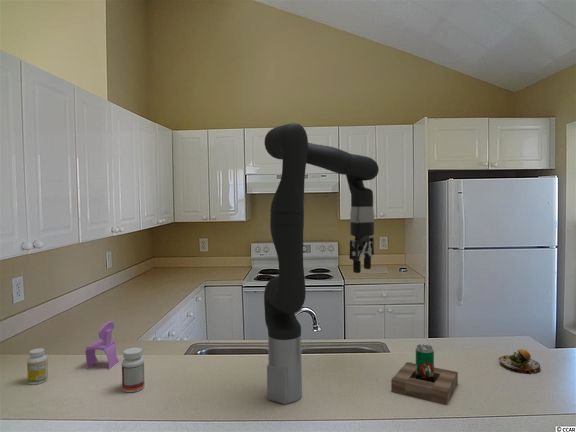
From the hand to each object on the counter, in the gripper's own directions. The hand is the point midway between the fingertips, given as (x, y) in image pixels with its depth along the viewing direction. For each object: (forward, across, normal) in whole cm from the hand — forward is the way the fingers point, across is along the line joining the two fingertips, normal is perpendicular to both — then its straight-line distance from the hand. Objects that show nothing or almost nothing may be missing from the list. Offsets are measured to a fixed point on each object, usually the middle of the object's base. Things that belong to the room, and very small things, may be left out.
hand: (362, 270), depth 134 cm
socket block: (+32, +4, +21) cm, 38 cm away
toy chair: (+32, +44, -75) cm, 93 cm away
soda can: (+32, +4, +21) cm, 38 cm away
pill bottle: (+32, +49, -51) cm, 78 cm away
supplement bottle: (+32, +62, -81) cm, 107 cm away
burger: (+32, -27, +43) cm, 60 cm away
